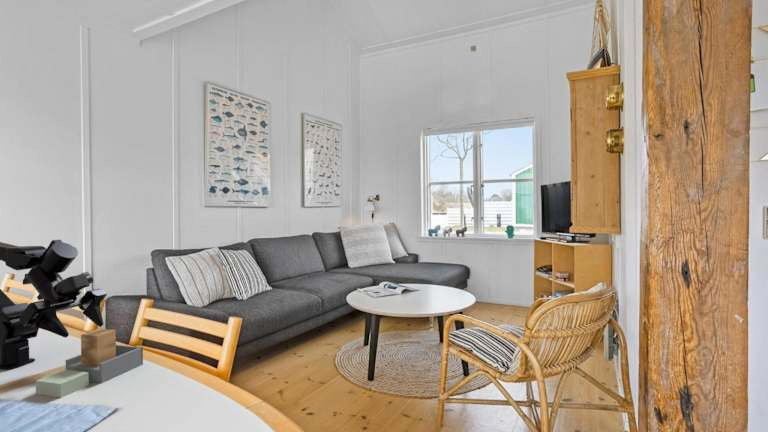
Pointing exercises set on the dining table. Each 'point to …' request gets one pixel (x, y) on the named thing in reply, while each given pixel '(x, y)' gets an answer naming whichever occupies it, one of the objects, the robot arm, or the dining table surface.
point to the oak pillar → (98, 346)
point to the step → (62, 383)
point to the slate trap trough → (109, 364)
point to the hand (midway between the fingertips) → (85, 330)
